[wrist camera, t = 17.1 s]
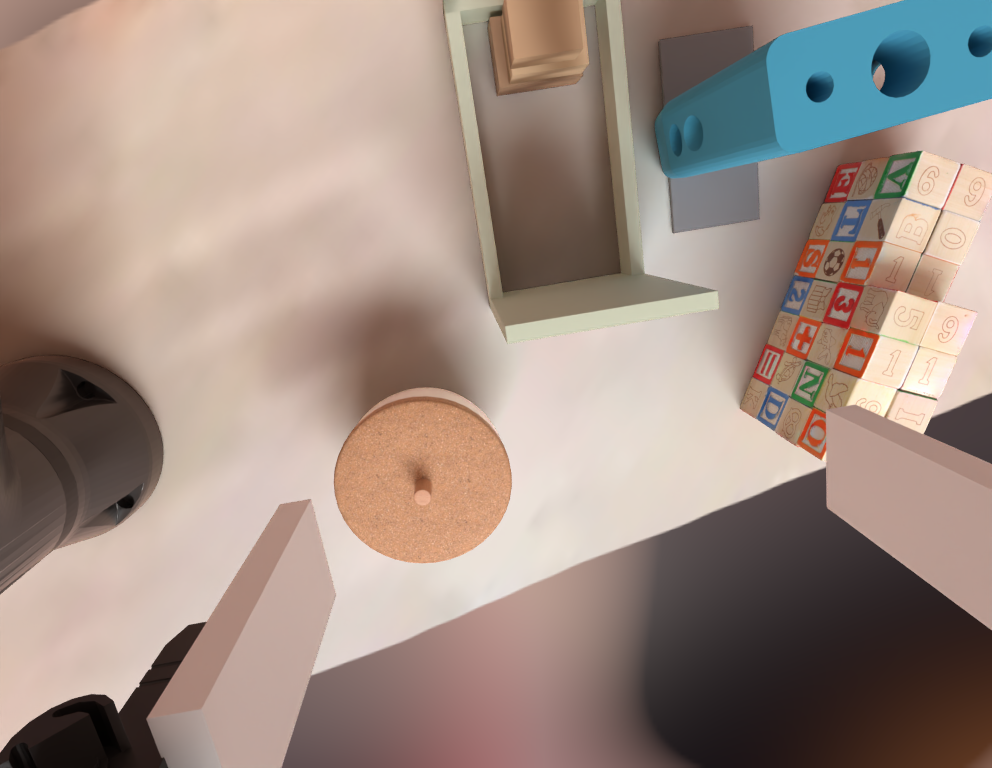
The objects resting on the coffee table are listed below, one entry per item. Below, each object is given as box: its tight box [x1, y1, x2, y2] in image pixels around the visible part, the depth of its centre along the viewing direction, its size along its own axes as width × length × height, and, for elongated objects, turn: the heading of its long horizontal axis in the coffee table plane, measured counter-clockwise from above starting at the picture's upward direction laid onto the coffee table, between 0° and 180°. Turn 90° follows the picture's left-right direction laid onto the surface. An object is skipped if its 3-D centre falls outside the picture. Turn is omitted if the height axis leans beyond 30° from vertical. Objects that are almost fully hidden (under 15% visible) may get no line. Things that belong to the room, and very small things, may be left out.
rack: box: [443, 0, 719, 344], centre depth 38 cm, size 12×22×16 cm, turn 9°
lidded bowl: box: [334, 387, 512, 563], centre depth 46 cm, size 13×13×11 cm
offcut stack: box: [488, 0, 589, 96], centre depth 40 cm, size 6×4×8 cm
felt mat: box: [658, 26, 760, 233], centre depth 46 cm, size 7×14×1 cm, turn 9°
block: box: [655, 0, 992, 178], centre depth 36 cm, size 12×5×20 cm, turn 105°
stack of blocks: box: [740, 151, 992, 462], centre depth 44 cm, size 21×6×12 cm, turn 164°
